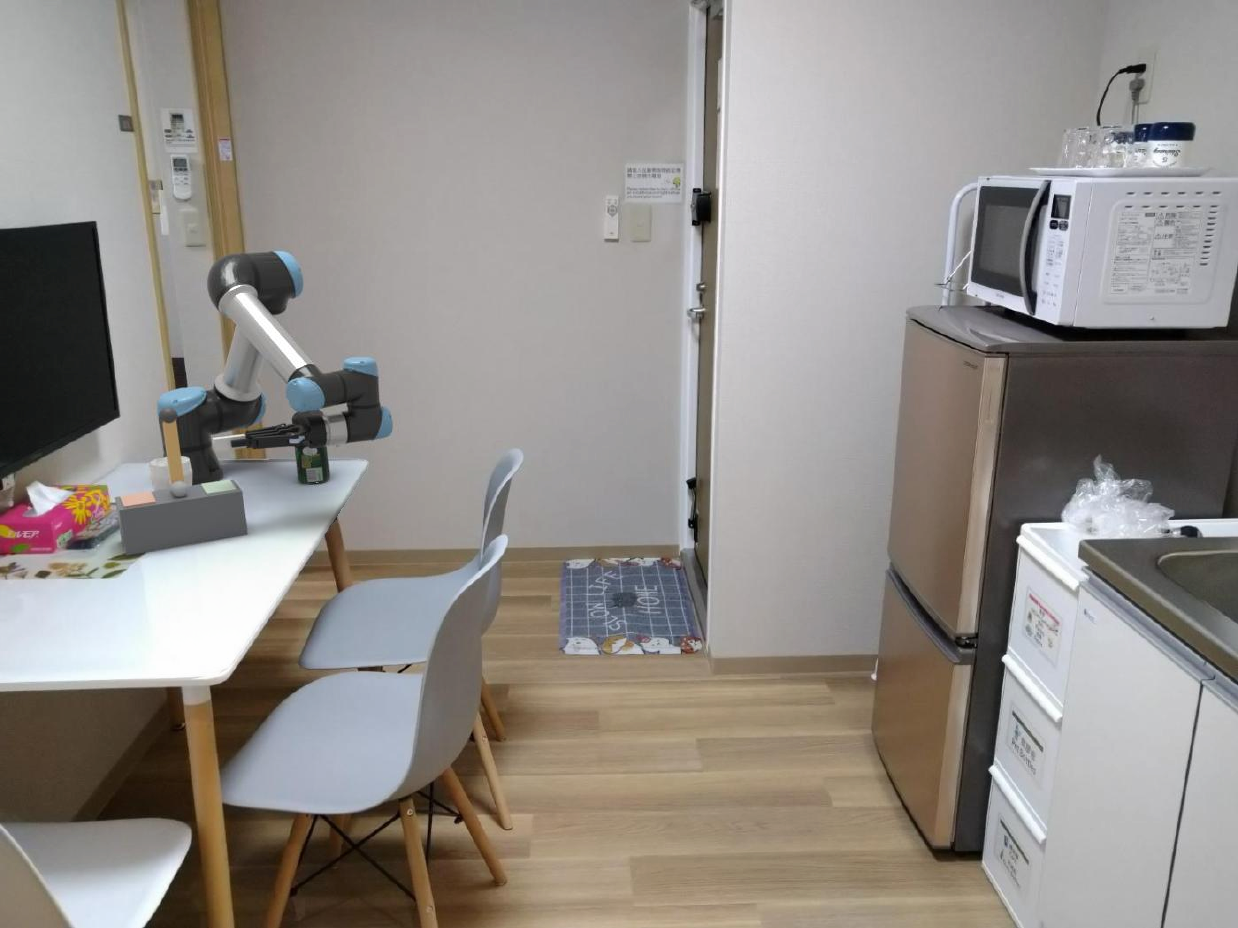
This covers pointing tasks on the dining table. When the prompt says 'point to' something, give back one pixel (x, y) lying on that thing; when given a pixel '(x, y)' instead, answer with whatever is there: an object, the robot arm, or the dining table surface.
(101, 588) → the dining table surface
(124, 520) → the breaker box
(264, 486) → the dining table surface
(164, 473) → the cup
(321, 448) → the coffee jar
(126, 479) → the dining table surface
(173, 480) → the lever
